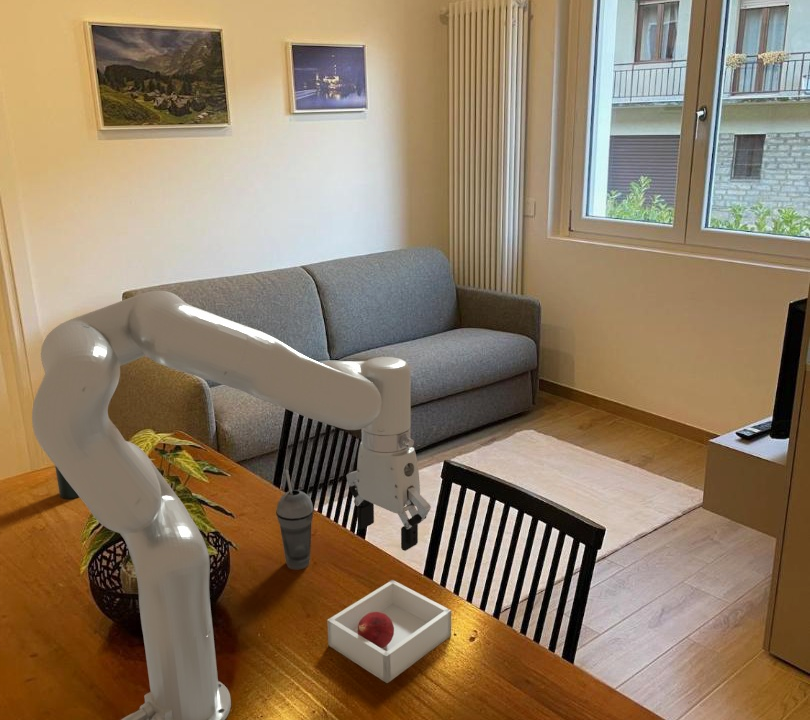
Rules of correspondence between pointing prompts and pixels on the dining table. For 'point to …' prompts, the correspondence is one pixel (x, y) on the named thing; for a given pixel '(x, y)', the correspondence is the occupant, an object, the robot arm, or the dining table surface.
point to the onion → (376, 628)
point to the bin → (413, 630)
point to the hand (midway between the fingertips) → (387, 536)
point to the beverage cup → (295, 526)
